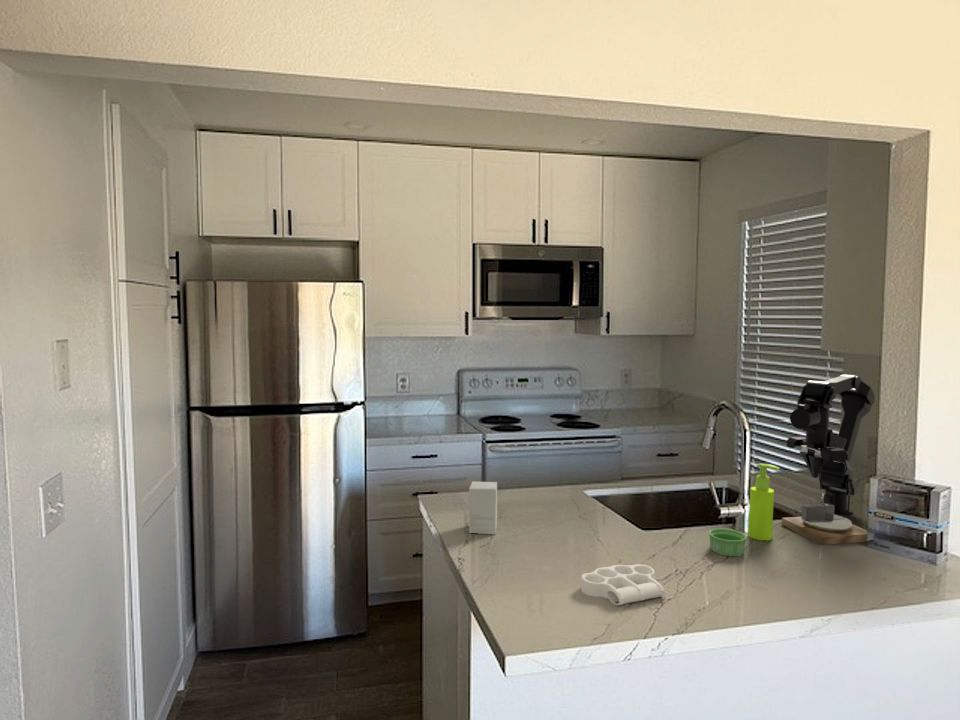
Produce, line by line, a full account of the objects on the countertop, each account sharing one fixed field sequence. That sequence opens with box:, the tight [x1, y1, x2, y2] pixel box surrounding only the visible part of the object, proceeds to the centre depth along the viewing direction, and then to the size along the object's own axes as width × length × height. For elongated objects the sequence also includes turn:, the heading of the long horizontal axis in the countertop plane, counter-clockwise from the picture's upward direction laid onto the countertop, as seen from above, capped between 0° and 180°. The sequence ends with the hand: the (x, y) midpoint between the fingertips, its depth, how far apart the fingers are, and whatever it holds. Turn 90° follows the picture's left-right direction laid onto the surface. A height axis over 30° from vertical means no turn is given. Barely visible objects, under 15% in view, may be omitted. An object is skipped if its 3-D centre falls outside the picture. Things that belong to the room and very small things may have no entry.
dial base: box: [781, 516, 868, 546], centre depth 182 cm, size 16×16×2 cm
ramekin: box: [708, 527, 748, 557], centre depth 168 cm, size 9×9×4 cm
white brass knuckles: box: [580, 563, 666, 606], centre depth 145 cm, size 3×18×15 cm
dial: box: [800, 502, 853, 532], centre depth 182 cm, size 13×12×6 cm
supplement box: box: [468, 480, 498, 535], centre depth 181 cm, size 7×7×13 cm
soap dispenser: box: [747, 462, 781, 541], centre depth 177 cm, size 6×7×20 cm
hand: (814, 477), depth 192 cm, fingers closed
